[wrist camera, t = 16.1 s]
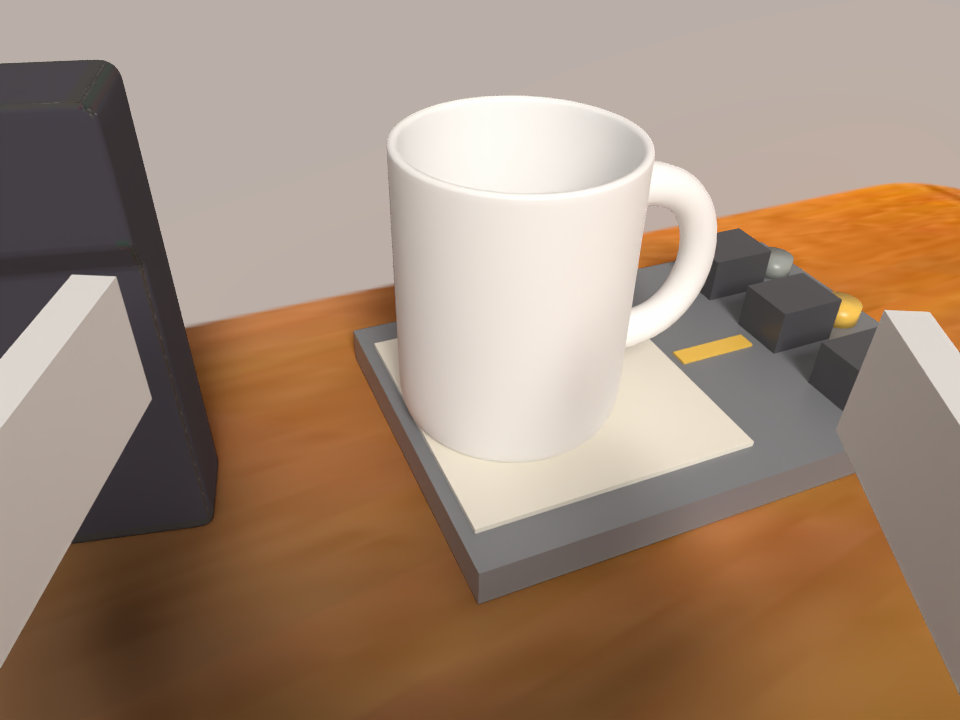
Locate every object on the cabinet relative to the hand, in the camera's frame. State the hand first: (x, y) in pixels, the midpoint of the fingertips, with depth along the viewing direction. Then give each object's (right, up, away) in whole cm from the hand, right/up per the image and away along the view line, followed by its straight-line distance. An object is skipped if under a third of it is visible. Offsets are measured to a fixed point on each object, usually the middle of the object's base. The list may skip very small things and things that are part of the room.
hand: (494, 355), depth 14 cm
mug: (+3, -1, +17) cm, 17 cm away
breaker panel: (+7, -2, +20) cm, 21 cm away
